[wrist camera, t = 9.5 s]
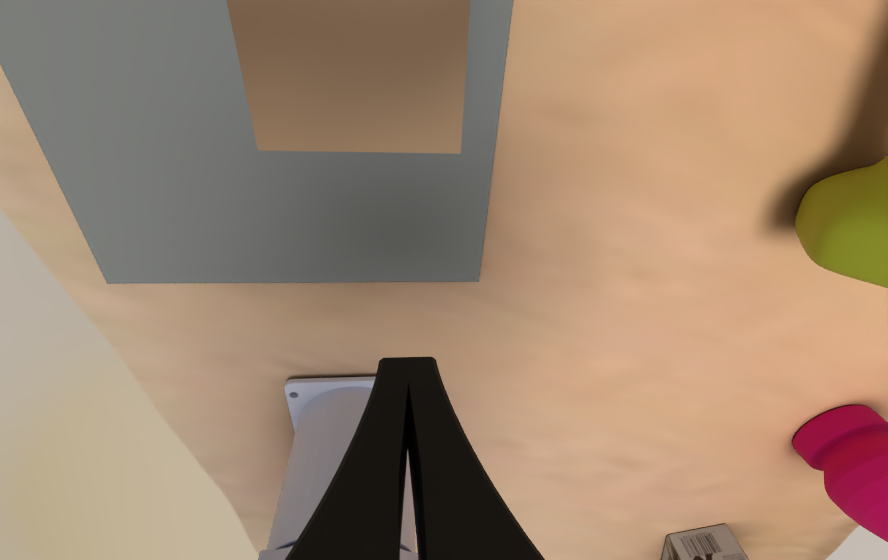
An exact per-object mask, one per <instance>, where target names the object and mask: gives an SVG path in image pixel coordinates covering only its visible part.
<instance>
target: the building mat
mask: <svg viewBox="0 0 888 560" xmlns="http://www.w3.org/2000/svg"><path fill="white" fill-rule="evenodd" d="M512 7H513V0H470V13H469V29H468V45H467V61H466V76H465V92H464V108H463V124H462V139H461V154H457V153H393V152H328V151H263V150H258V148H257V144H256V139H255V134H254V129H253V125H252V120H251V115H250V110H249V106H248V101H247V96H246V91H245V87H244V82H243V77H242V72H241V68H240V63H239V58H238V53H237V49H236V44H235V39H234V34H233V29H232V25H231V20H230V15H229V10H228V6H227V1H226V0H0V64H1V67H2V69H3V71H4V73H5V75H6V77H7V79H8V81H9V83H10V85H11V87H12V89H13V91H14V93H15V95H16V97H17V99H18V101H19V103H20V106H21V108H22V110H23V112H24V114H25V116H26V118H27V120H28V122H29V124H30V126H31V128H32V130H33V132H34V134H35V136H36V138H37V140H38V142H39V145H40V147H41V149H42V151H43V153H44V155H45V157H46V159H47V161H48V163H49V165H50V167H51V169H52V171H53V173H54V175H55V177H56V179H57V182H58V184H59V186H60V188H61V190H62V192H63V194H64V196H65V198H66V200H67V202H68V204H69V206H70V208H71V210H72V212H73V214H74V216H75V218H76V221H77V223H78V225H79V227H80V229H81V231H82V233H83V235H84V237H85V239H86V241H87V243H88V245H89V247H90V249H91V251H92V253H93V255H94V257H95V260H96V262H97V264H98V266H99V268H100V270H101V272H102V274H103V276H104V278H105V280H106V282H107V284H128V283H323V282H479V276H480V268H481V259H482V251H483V243H484V235H485V227H486V219H487V211H488V202H489V194H490V186H491V178H492V170H493V162H494V154H495V146H496V137H497V129H498V121H499V113H500V105H501V97H502V89H503V80H504V72H505V64H506V56H507V48H508V40H509V32H510V23H511V15H512Z"/></svg>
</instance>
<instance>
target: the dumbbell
mask: <svg viewBox="0 0 888 560" xmlns="http://www.w3.org/2000/svg"><path fill="white" fill-rule="evenodd" d="M795 227H796V231H797V234H798V237H799V239H800V242H801V244H802V246H803V248H804V250H805V252H806V253H807V255H808V256H809V257H810V259H811V260H813V261H814V262H815V263H816V264H818V265H819V266H821V267H823V268H825V269H827V270H829V271H832V272H835V273H838V274H841V275H844V276H848V277H851V278H854V279H858V280H861V281H865V282H868V283H872V284H875V285H879V286H882V287H886V288H888V155H887V156H886V157H885V158H884V159H882V160H881V161H880V162H879V163H877V164H875V165H873V166H868V167H863V168H858V169H854V170H850V171H846V172H843V173H840V174H837V175H833V176H830V177H827V178H825V179H823V180H821V181H819V182H817V183H815V184H814V185H813V186H812V187H810V188H809V189H808V191H807V192H806V194H805V195H804V197H803V199H802V201H801V204H800V206H799V209H798V212H797V215H796V219H795Z"/></svg>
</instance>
